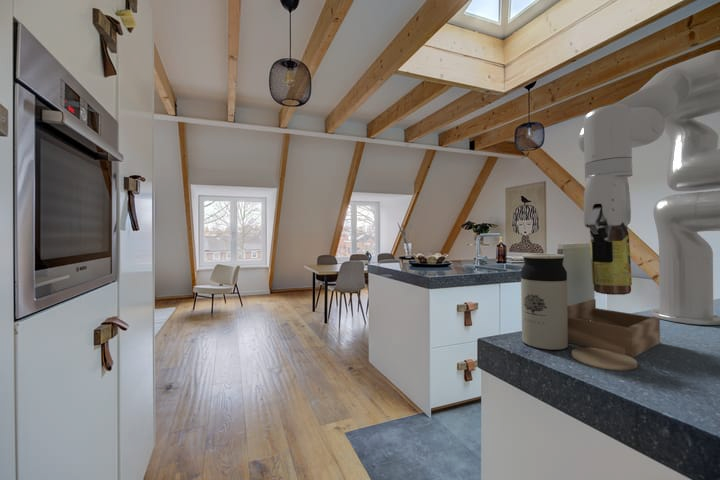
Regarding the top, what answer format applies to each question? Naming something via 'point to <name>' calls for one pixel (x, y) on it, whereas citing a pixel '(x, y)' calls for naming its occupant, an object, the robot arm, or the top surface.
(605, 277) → the sauce bottle
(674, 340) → the top surface
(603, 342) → the wooden open box
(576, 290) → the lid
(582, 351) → the disc
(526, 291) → the stoneware storage canister
